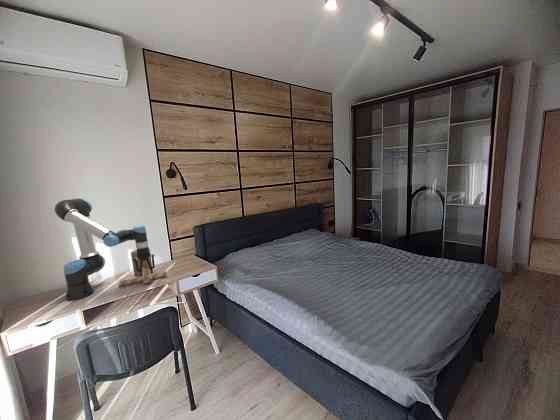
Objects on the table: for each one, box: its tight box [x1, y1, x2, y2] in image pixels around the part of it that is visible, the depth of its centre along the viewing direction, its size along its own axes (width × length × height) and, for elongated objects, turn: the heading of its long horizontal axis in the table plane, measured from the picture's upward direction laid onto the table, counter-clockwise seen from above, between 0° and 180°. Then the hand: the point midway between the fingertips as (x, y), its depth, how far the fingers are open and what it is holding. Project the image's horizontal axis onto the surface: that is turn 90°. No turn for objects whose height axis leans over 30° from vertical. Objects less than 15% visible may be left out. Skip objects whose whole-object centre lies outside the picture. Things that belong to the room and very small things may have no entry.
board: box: [118, 271, 168, 289], centre depth 190 cm, size 31×9×2 cm, turn 115°
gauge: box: [142, 266, 152, 284], centre depth 186 cm, size 4×12×11 cm, turn 25°
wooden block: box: [130, 248, 154, 277], centre depth 204 cm, size 10×10×20 cm
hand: (147, 278), depth 183 cm, fingers closed on gauge, 4 cm apart
